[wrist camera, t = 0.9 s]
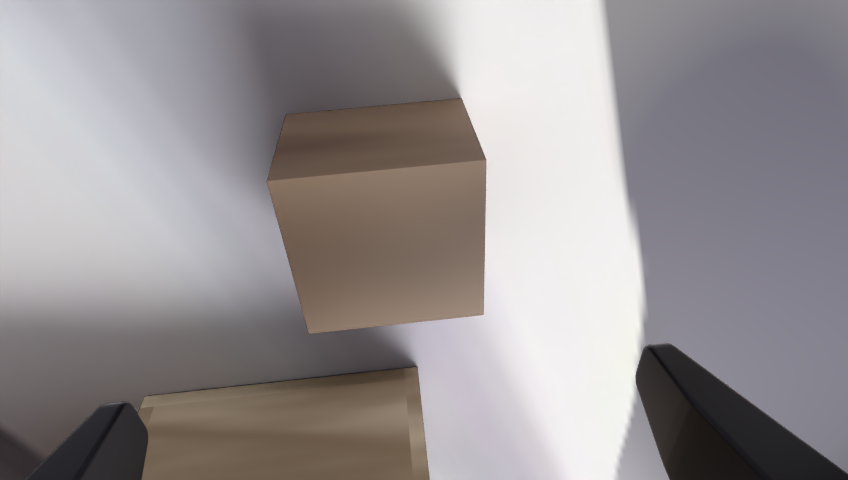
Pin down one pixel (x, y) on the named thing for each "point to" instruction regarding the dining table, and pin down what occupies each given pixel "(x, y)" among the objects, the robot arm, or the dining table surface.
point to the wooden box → (291, 430)
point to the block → (382, 213)
